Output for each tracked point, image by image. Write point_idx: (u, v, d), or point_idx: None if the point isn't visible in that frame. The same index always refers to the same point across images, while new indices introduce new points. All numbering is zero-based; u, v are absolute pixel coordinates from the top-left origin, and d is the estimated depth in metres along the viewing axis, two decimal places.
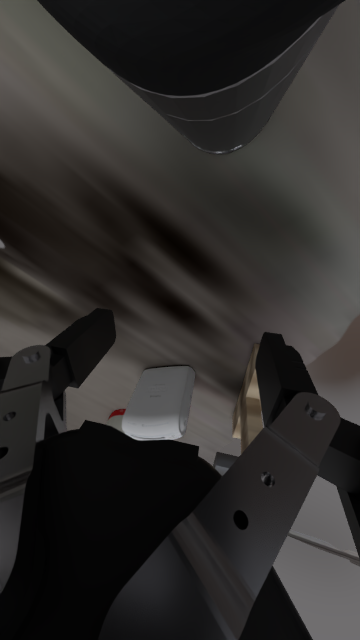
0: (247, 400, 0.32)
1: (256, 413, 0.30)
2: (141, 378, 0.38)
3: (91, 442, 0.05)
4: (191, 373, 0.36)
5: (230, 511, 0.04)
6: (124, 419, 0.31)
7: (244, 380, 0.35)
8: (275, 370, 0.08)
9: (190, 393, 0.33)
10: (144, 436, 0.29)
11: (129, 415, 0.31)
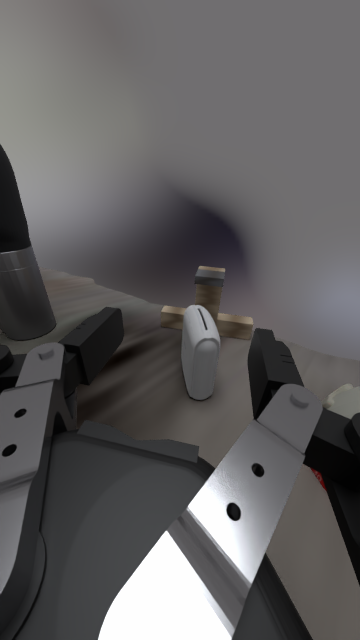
0: None
1: None
2: (189, 384, 0.31)
3: (91, 442, 0.05)
4: None
5: (223, 504, 0.04)
6: (193, 342, 0.27)
7: None
8: (263, 364, 0.08)
9: None
10: (197, 315, 0.29)
11: (190, 342, 0.28)
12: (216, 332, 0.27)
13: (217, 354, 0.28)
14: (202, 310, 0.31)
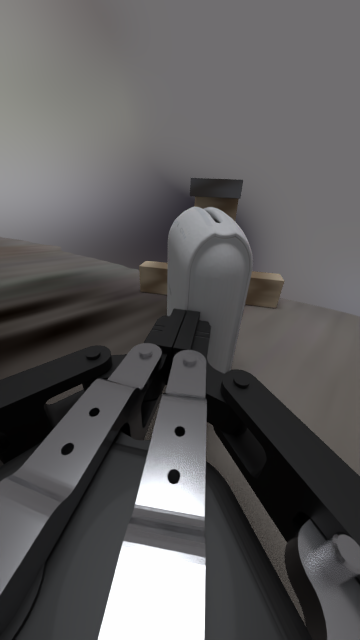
0: None
1: None
2: None
3: None
4: None
5: (164, 477, 0.04)
6: (186, 252, 0.11)
7: None
8: None
9: None
10: (196, 208, 0.13)
11: (179, 258, 0.11)
12: (242, 231, 0.11)
13: (244, 288, 0.11)
14: (205, 208, 0.14)
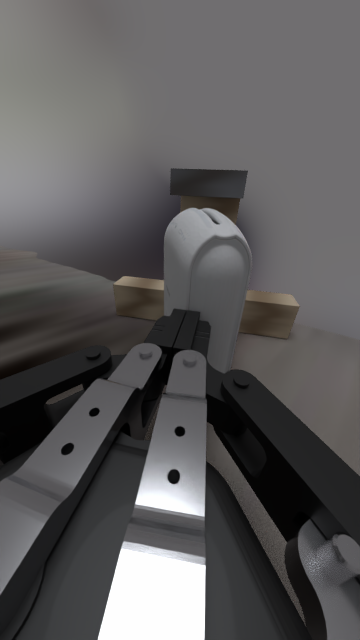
0: None
1: None
2: None
3: None
4: None
5: (164, 477, 0.04)
6: (187, 254, 0.11)
7: None
8: None
9: None
10: (193, 209, 0.13)
11: (179, 259, 0.11)
12: (241, 233, 0.11)
13: (243, 289, 0.12)
14: (202, 209, 0.14)
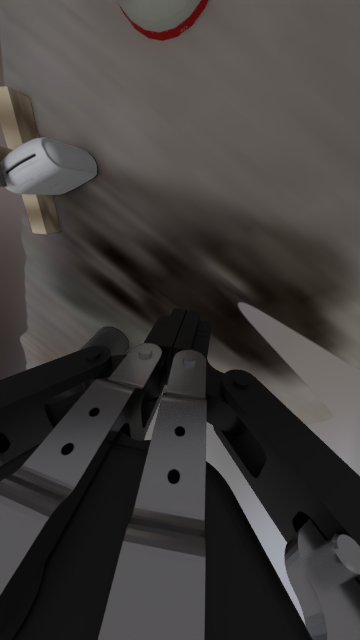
0: None
1: None
2: (88, 175, 0.35)
3: None
4: None
5: (164, 477, 0.04)
6: (55, 168, 0.28)
7: None
8: None
9: None
10: (20, 169, 0.28)
11: (54, 173, 0.29)
12: (31, 142, 0.27)
13: (53, 141, 0.28)
14: (8, 165, 0.28)
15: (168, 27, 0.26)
